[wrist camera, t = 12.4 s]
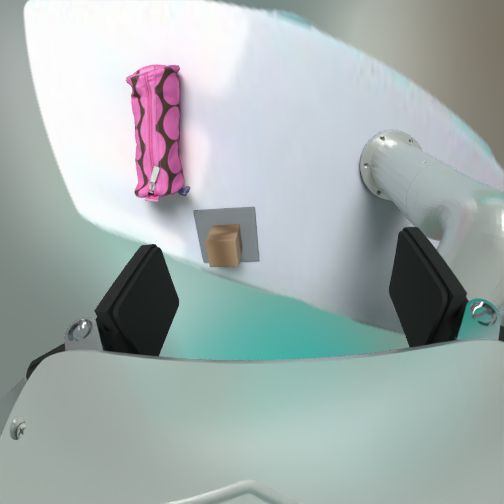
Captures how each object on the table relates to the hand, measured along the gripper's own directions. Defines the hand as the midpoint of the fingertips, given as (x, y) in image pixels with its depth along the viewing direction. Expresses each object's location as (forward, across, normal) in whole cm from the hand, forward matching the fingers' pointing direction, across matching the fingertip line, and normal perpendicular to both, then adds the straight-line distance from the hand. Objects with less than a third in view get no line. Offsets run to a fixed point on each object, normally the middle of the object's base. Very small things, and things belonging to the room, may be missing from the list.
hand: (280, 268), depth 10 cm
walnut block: (+36, +11, +18) cm, 41 cm away
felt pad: (+36, +11, +18) cm, 42 cm away
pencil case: (+36, +18, -4) cm, 41 cm away
